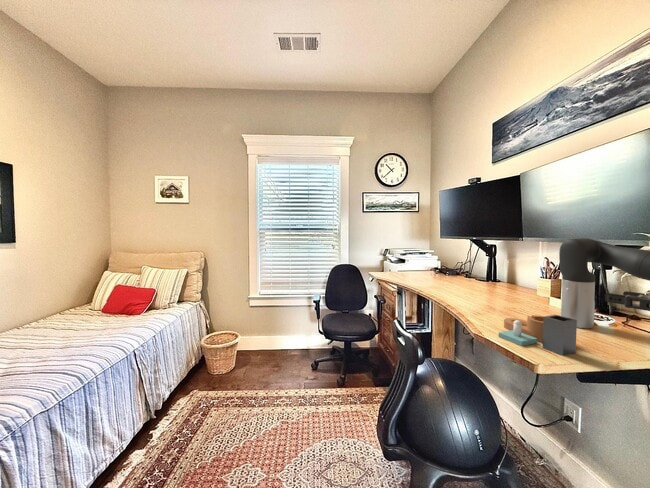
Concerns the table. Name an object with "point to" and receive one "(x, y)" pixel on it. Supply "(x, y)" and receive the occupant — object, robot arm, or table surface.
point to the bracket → (528, 326)
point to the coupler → (559, 334)
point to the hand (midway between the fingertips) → (614, 296)
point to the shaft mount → (517, 335)
